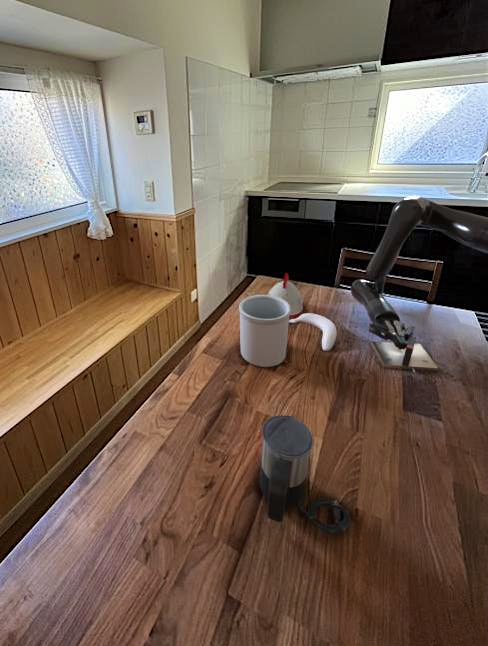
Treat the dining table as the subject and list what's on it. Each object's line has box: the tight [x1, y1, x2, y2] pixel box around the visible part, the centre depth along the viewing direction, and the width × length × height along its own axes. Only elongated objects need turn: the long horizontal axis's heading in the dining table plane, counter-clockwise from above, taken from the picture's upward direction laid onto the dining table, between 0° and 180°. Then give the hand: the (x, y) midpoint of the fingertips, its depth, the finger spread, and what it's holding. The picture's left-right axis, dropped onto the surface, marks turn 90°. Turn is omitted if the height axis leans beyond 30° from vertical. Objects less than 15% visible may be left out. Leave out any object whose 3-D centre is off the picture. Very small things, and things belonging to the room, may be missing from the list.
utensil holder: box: [238, 294, 290, 368], centre depth 102 cm, size 15×15×18 cm
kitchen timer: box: [266, 272, 304, 320], centre depth 126 cm, size 14×14×15 cm
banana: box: [289, 312, 338, 352], centre depth 113 cm, size 5×19×15 cm
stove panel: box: [370, 341, 439, 373], centre depth 99 cm, size 14×14×2 cm
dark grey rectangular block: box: [402, 335, 417, 367], centre depth 96 cm, size 7×2×6 cm, turn 143°
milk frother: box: [259, 414, 352, 535], centre depth 62 cm, size 14×16×15 cm
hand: (402, 346), depth 94 cm, fingers closed
